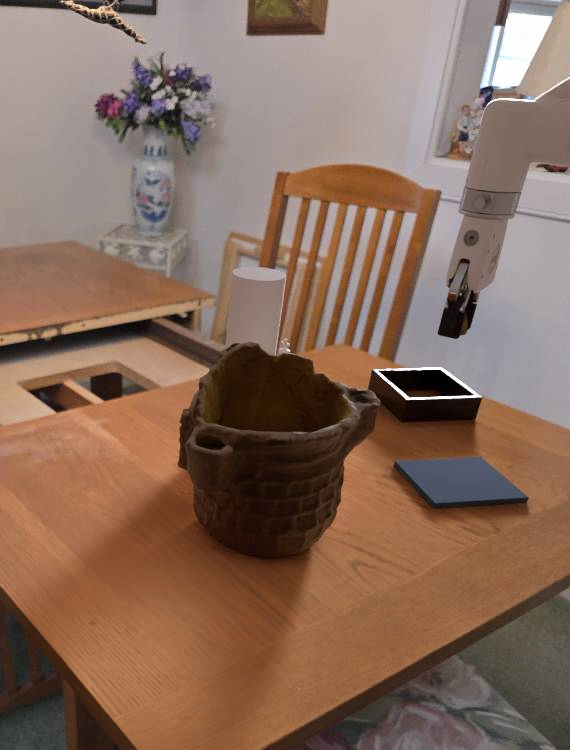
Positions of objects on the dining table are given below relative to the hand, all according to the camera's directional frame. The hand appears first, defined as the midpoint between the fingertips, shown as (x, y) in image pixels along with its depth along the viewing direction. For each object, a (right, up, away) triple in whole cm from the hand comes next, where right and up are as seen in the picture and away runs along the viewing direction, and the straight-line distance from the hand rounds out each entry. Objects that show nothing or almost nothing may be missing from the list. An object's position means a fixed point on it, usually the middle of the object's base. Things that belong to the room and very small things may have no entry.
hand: (454, 331), depth 109 cm
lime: (0, -1, 0) cm, 1 cm away
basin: (0, -9, +15) cm, 17 cm away
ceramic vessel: (-34, -32, -22) cm, 51 cm away
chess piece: (-25, -7, +15) cm, 30 cm away
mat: (-3, -24, -9) cm, 26 cm away
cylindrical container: (-33, -18, -1) cm, 38 cm away
